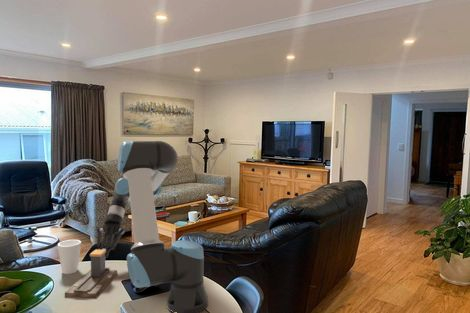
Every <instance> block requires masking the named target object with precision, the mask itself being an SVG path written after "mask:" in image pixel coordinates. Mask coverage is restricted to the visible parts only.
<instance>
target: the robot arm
mask: <svg viewBox="0 0 470 313" xmlns="http://www.w3.org/2000/svg"><path fill="white" fill-rule="evenodd" d="M178 156H179V155H178V153H177V151H176V149H175V148H174V146H172V145H171V144H169V143H167V142H165V141H162V140H131V141H130V140H129V141H123V142H121V144H120V145H119V150H118V156H117V171H118V172H120V173H122V175H123V176H122V177H121V178H119V179H118V180H117V181H116V183H115V186H114V191H113V195H112V199H111V201H110V206H109V208H108V211H107V215H106V218H105V220H104V224H103V226H101V227H100V228H99V227H98V228H96V231H97V241H96V247H97V250H106V252H105V259H106V258H108V257H109V254H110V251H112V250H113V251H114V250H115V249H116V247H117V244H118V243H119V241H120V240H121V238H122V236H123V235H124V234H125V233H126V232H125V230H124V228H122V223H123V219H124V216H125V212H126V208H127V206H128V201H129V203H130V213H131V221H132V222H131V223H132V231H133V241H134V244H133V245H132V246H131V248H130V253H128V254H127V256H126V267H127V272H128V276H129V278H130V282H131V281H132V283H133V285H134V286H133V287H135V288H139V289H140V288H149V287H152V286H157V285H161V284H167V283H171V286H170V289H169V292H168V294H167V298H166V307H167V306H168V308H169V309H170V310H172V311H173V312H177V313H197V312H199V313H201V312H202V310H203V311H204V310H206V308H207V307H208V305H209V298H208V294H207V291H206V287H205V284H204V266H205V264H204V262H205V260H204V259H205V256H204V247H203V246H202V244H200V243H199V242H195V241H193V240H192V241H191V240H180V239H179V240H175V241H172V243H171V245H170V247H168V248H166V247H165V243H164V241H162V240H160V235H159V234H160V233H159V227H158V221H157V212H156V204H155V197H154V196H157V195H158V196H159V195H161V193H162V189H163V188H162V187H163V186H162V183H163V182H164V180H165V179H166V178H167V176H168V175H169V174H170V173H172V172H173V171H174V170H175V168H176V167H177V165H178V162H179V157H178ZM103 232H104V235H103ZM168 308H167V309H168ZM200 311H201V312H200Z"/></svg>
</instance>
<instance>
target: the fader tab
mask: <svg viewBox="0 0 470 313" xmlns="http://www.w3.org/2000/svg"><path fill="white" fill-rule="evenodd" d="M105 252H106V250H100V249H94V250H93V251H91V253H89V257H90V270H91V277H101V276H102V275H103V274H104V273H105V268H106V258H105Z"/></svg>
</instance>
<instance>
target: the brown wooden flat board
mask: <svg viewBox="0 0 470 313" xmlns="http://www.w3.org/2000/svg"><path fill="white" fill-rule="evenodd" d="M117 274H118V270H116V269H110V267H105V273H104V274H103V275H102V276H101V277H91V269H89V270H88V271H87V272H86V273H85V274H84V275H83V276H81V277H80V278H79V279H78V280H77V281H76V282H75V283H74V284H73V285H71V287H69V288H68V289H67V290H66V291H64V297H73V298H96V297H97V296H98V295H99V294H100V293H101V292H102V291H103V290H104V289H105V288H106V287H107V285H108V284H110V282H111V281H112V280H113V279H114V277H116V275H117Z"/></svg>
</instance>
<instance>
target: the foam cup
mask: <svg viewBox="0 0 470 313" xmlns="http://www.w3.org/2000/svg"><path fill="white" fill-rule="evenodd" d="M81 248H82V241H81V240H80V239H67V240H63V241H60V242H58V243H57V250H58V251H57V252H58V257H59V261H60V262H59V263H60V267H61V273H62V274H64V275H70V274H74V273H76V271H77V270H79V265H80V264H79V263H80V257H81V256H80V254H81ZM77 272H78V271H77Z"/></svg>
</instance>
